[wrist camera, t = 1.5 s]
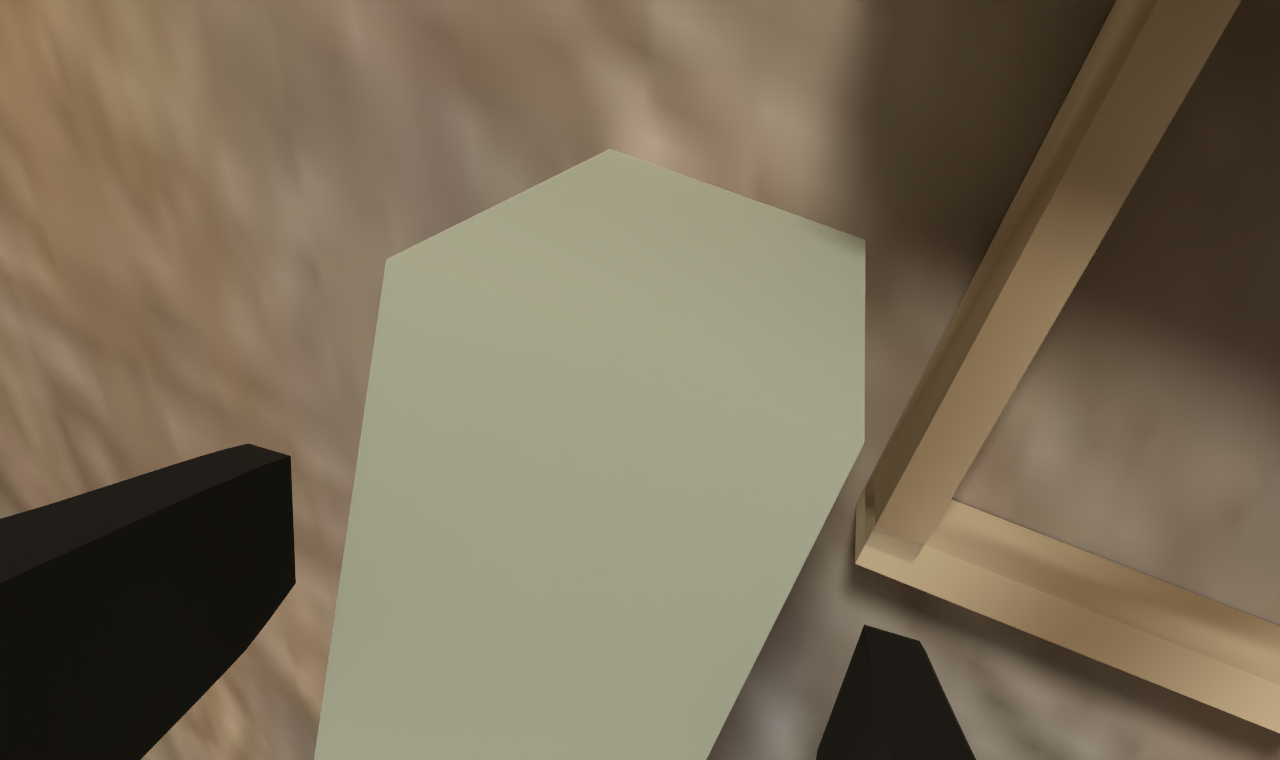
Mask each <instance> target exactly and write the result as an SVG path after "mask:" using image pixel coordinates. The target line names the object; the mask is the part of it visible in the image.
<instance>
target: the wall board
mask: <svg viewBox="0 0 1280 760" xmlns="http://www.w3.org/2000/svg"><path fill="white" fill-rule="evenodd" d="M1241 1H1242V0H1116V2H1115V4H1114V5H1113V7H1112V9H1111V11H1110V13H1109V15H1108V17H1107V19H1106V21H1105V23H1104V25H1103V27H1102V29H1101V31H1100V33H1099V35H1098V37H1097V38H1096V40H1095V42H1094V44H1093V46H1092V48H1091V50H1090V52H1089V54H1088V56H1087V58H1086V60H1085V62H1084V64H1083V66H1082V68H1081V70H1080V71H1079V73H1078V75H1077V77H1076V79H1075V81H1074V83H1073V85H1072V87H1071V89H1070V91H1069V93H1068V95H1067V97H1066V99H1065V101H1064V102H1063V104H1062V106H1061V108H1060V110H1059V112H1058V114H1057V116H1056V118H1055V120H1054V122H1053V124H1052V126H1051V128H1050V130H1049V132H1048V134H1047V135H1046V137H1045V139H1044V141H1043V143H1042V145H1041V147H1040V149H1039V151H1038V153H1037V155H1036V157H1035V159H1034V161H1033V163H1032V165H1031V167H1030V168H1029V170H1028V172H1027V174H1026V176H1025V178H1024V180H1023V182H1022V184H1021V186H1020V188H1019V190H1018V192H1017V194H1016V196H1015V198H1014V200H1013V201H1012V203H1011V205H1010V207H1009V209H1008V211H1007V213H1006V215H1005V217H1004V219H1003V221H1002V223H1001V225H1000V227H999V229H998V231H997V233H996V234H995V236H994V238H993V240H992V242H991V244H990V246H989V248H988V250H987V252H986V254H985V256H984V258H983V260H982V262H981V264H980V266H979V267H978V269H977V271H976V273H975V275H974V277H973V279H972V281H971V283H970V285H969V287H968V289H967V291H966V293H965V295H964V297H963V298H962V300H961V302H960V304H959V306H958V308H957V310H956V312H955V314H954V316H953V318H952V320H951V322H950V324H949V326H948V328H947V330H946V331H945V333H944V335H943V337H942V339H941V341H940V343H939V345H938V347H937V349H936V351H935V353H934V355H933V357H932V359H931V361H930V363H929V364H928V366H927V368H926V370H925V372H924V374H923V376H922V378H921V380H920V382H919V384H918V386H917V388H916V390H915V392H914V394H913V396H912V397H911V399H910V401H909V403H908V405H907V407H906V409H905V411H904V413H903V415H902V417H901V419H900V421H899V423H898V425H897V427H896V429H895V430H894V432H893V434H892V436H891V438H890V440H889V442H888V444H887V446H886V448H885V450H884V452H883V454H882V456H881V458H880V460H879V461H878V463H877V465H876V467H875V469H874V471H873V473H872V475H871V477H870V479H869V481H868V483H867V485H866V487H865V489H864V491H863V493H862V494H861V496H860V498H859V500H858V502H857V504H856V541H855V564H857V565H860V566H862V567H865V568H867V569H870V570H872V571H875V572H877V573H880V574H882V575H885V576H887V577H890V578H892V579H895V580H897V581H900V582H902V583H905V584H907V585H910V586H912V587H915V588H917V589H920V590H922V591H925V592H927V593H930V594H932V595H935V596H937V597H940V598H942V599H945V600H947V601H950V602H952V603H955V604H957V605H960V606H962V607H965V608H967V609H970V610H972V611H975V612H977V613H980V614H982V615H985V616H987V617H990V618H992V619H995V620H997V621H1000V622H1002V623H1005V624H1007V625H1010V626H1012V627H1015V628H1017V629H1020V630H1022V631H1025V632H1027V633H1030V634H1032V635H1035V636H1037V637H1040V638H1042V639H1045V640H1047V641H1050V642H1052V643H1055V644H1057V645H1060V646H1062V647H1065V648H1067V649H1070V650H1072V651H1075V652H1077V653H1080V654H1082V655H1085V656H1087V657H1090V658H1092V659H1095V660H1097V661H1100V662H1102V663H1105V664H1107V665H1110V666H1112V667H1115V668H1117V669H1120V670H1122V671H1125V672H1127V673H1130V674H1132V675H1135V676H1137V677H1140V678H1142V679H1145V680H1147V681H1150V682H1152V683H1155V684H1157V685H1160V686H1162V687H1165V688H1167V689H1170V690H1172V691H1175V692H1177V693H1180V694H1182V695H1185V696H1187V697H1190V698H1192V699H1195V700H1197V701H1200V702H1202V703H1205V704H1207V705H1210V706H1212V707H1215V708H1217V709H1220V710H1222V711H1225V712H1227V713H1230V714H1232V715H1235V716H1237V717H1240V718H1242V719H1245V720H1247V721H1250V722H1252V723H1255V724H1257V725H1260V726H1262V727H1265V728H1267V729H1270V730H1272V731H1275V732H1277V733H1280V626H1278V625H1275V624H1273V623H1270V622H1267V621H1265V620H1262V619H1260V618H1257V617H1255V616H1252V615H1249V614H1247V613H1244V612H1242V611H1239V610H1236V609H1234V608H1231V607H1229V606H1226V605H1223V604H1221V603H1218V602H1216V601H1213V600H1211V599H1208V598H1205V597H1203V596H1200V595H1198V594H1195V593H1192V592H1190V591H1187V590H1185V589H1182V588H1179V587H1177V586H1174V585H1172V584H1169V583H1166V582H1164V581H1161V580H1159V579H1156V578H1154V577H1151V576H1148V575H1146V574H1143V573H1141V572H1138V571H1135V570H1133V569H1130V568H1128V567H1125V566H1122V565H1120V564H1117V563H1115V562H1112V561H1110V560H1107V559H1104V558H1102V557H1099V556H1097V555H1094V554H1091V553H1089V552H1086V551H1084V550H1081V549H1078V548H1076V547H1073V546H1071V545H1068V544H1065V543H1063V542H1060V541H1058V540H1055V539H1053V538H1050V537H1047V536H1045V535H1042V534H1040V533H1037V532H1034V531H1032V530H1029V529H1027V528H1024V527H1021V526H1019V525H1016V524H1014V523H1011V522H1009V521H1006V520H1003V519H1001V518H998V517H996V516H993V515H990V514H988V513H985V512H983V511H980V510H977V509H975V508H972V507H970V506H967V505H965V504H962V503H959V502H957V501H954V500H952V499H951V498H952V497H953V495H954V493H955V491H956V490H957V488H958V486H959V485H960V483H961V481H962V479H963V478H964V476H965V474H966V473H967V471H968V469H969V467H970V466H971V464H972V462H973V461H974V459H975V457H976V455H977V454H978V452H979V450H980V449H981V447H982V445H983V443H984V442H985V440H986V438H987V437H988V435H989V433H990V431H991V430H992V428H993V426H994V425H995V423H996V421H997V419H998V418H999V416H1000V414H1001V413H1002V411H1003V409H1004V407H1005V406H1006V404H1007V402H1008V401H1009V399H1010V397H1011V395H1012V394H1013V392H1014V390H1015V388H1016V387H1017V385H1018V383H1019V382H1020V380H1021V378H1022V376H1023V375H1024V373H1025V371H1026V370H1027V368H1028V366H1029V364H1030V363H1031V361H1032V359H1033V358H1034V356H1035V354H1036V352H1037V351H1038V349H1039V347H1040V346H1041V344H1042V342H1043V340H1044V339H1045V337H1046V335H1047V334H1048V332H1049V330H1050V328H1051V327H1052V325H1053V323H1054V322H1055V320H1056V318H1057V316H1058V315H1059V313H1060V311H1061V310H1062V308H1063V306H1064V304H1065V303H1066V301H1067V299H1068V298H1069V296H1070V294H1071V292H1072V291H1073V289H1074V287H1075V285H1076V284H1077V282H1078V280H1079V279H1080V277H1081V275H1082V273H1083V272H1084V270H1085V268H1086V267H1087V265H1088V263H1089V261H1090V260H1091V258H1092V256H1093V255H1094V253H1095V251H1096V249H1097V248H1098V246H1099V244H1100V243H1101V241H1102V239H1103V237H1104V236H1105V234H1106V232H1107V231H1108V229H1109V227H1110V225H1111V224H1112V222H1113V220H1114V219H1115V217H1116V215H1117V213H1118V212H1119V210H1120V208H1121V207H1122V205H1123V203H1124V201H1125V200H1126V198H1127V196H1128V194H1129V193H1130V191H1131V189H1132V188H1133V186H1134V184H1135V182H1136V181H1137V179H1138V177H1139V176H1140V174H1141V172H1142V170H1143V169H1144V167H1145V165H1146V164H1147V162H1148V160H1149V158H1150V157H1151V155H1152V153H1153V152H1154V150H1155V148H1156V146H1157V145H1158V143H1159V141H1160V140H1161V138H1162V136H1163V134H1164V133H1165V131H1166V129H1167V128H1168V126H1169V124H1170V122H1171V121H1172V119H1173V117H1174V116H1175V114H1176V112H1177V110H1178V109H1179V107H1180V105H1181V104H1182V102H1183V100H1184V98H1185V97H1186V95H1187V93H1188V91H1189V90H1190V88H1191V86H1192V85H1193V83H1194V81H1195V79H1196V78H1197V76H1198V74H1199V73H1200V71H1201V69H1202V67H1203V66H1204V64H1205V62H1206V61H1207V59H1208V57H1209V55H1210V54H1211V52H1212V50H1213V49H1214V47H1215V45H1216V43H1217V42H1218V40H1219V38H1220V37H1221V35H1222V33H1223V31H1224V30H1225V28H1226V26H1227V25H1228V23H1229V21H1230V19H1231V18H1232V16H1233V14H1234V13H1235V11H1236V9H1237V7H1238V6H1239V4H1240V2H1241Z"/></svg>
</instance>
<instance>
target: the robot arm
mask: <svg viewBox="0 0 1280 760" xmlns="http://www.w3.org/2000/svg"><path fill="white" fill-rule="evenodd" d="M295 583H296V580H295V555H294V530H293V505H292V480H291V456H289V455H285V454H282V453H278V452H275V451H272V450H268V449H265V448H261V447H258V446H255V445H251V444H244V445H240V446H236V447H232V448H228V449H224V450H221V451H217V452H214V453H210V454H207V455H204V456H200V457H197V458H194V459H190V460H187V461H184V462H181V463H178V464H174V465H171V466H168V467H165V468H162V469H159V470H156V471H153V472H149V473H146V474H143V475H140V476H137V477H134V478H131V479H128V480H125V481H122V482H118V483H115V484H112V485H109V486H106V487H103V488H100V489H97V490H93V491H90V492H87V493H84V494H81V495H78V496H75V497H72V498H68V499H65V500H62V501H59V502H56V503H53V504H50V505H46V506H43V507H40V508H36V509H33V510H29V511H26V512H23V513H19V514H16V515H12V516H9V517H5V518H2V519H0V760H140V759H141V758H142V757H143V756H144V755H145V754H146V753H147V752H148V751H149V750H150V749H151V748H152V747H153V746H154V745H155V744H156V743H157V742H158V741H159V740H160V739H161V738H162V737H163V736H164V735H165V734H166V733H167V732H168V731H169V730H170V729H171V728H172V727H173V726H174V725H175V723H176V722H177V721H178V720H179V719H180V718H181V717H182V716H183V715H184V714H185V713H186V712H187V711H188V710H189V709H190V708H191V707H192V706H193V705H194V704H195V703H196V702H197V701H198V700H199V699H200V698H201V697H202V696H203V695H204V694H205V692H206V691H207V690H208V689H209V688H210V687H211V686H212V685H213V684H214V683H215V682H216V681H217V680H218V679H219V678H220V677H221V676H222V675H223V674H224V673H225V672H226V671H227V669H228V668H229V667H230V666H231V665H232V664H233V663H234V662H235V661H236V660H237V659H238V658H239V657H240V656H241V654H242V653H243V652H244V651H245V650H246V649H247V648H248V646H249V645H250V644H251V642H252V641H253V640H254V639H255V637H256V636H257V635H258V633H259V632H260V631H261V630H262V628H263V627H264V626H265V624H266V623H267V622H268V621H269V619H270V618H271V616H272V615H273V614H274V612H275V611H276V610H277V608H278V607H279V605H280V604H281V603H282V601H283V600H284V598H285V597H286V596H287V594H288V593H289V592H290V590H291V589H292V587H293V586H294V585H295ZM816 760H976V759H975V757H974V754H973V752H972V750H971V748H970V746H969V744H968V742H967V740H966V738H965V736H964V734H963V732H962V729H961V727H960V725H959V723H958V721H957V719H956V717H955V715H954V713H953V710H952V708H951V706H950V704H949V702H948V700H947V697H946V695H945V693H944V691H943V689H942V686H941V684H940V682H939V680H938V678H937V675H936V673H935V671H934V669H933V666H932V664H931V662H930V660H929V658H928V655H927V653H926V651H925V650H924V648H923V646H922V644H921V643H920V641H917V640H914V639H911V638H907V637H904V636H900V635H897V634H894V633H890V632H887V631H883V630H880V629H877V628H873V627H870V626H866V625H864V627H863V629H862V632H861V635H860V637H859V640H858V643H857V645H856V648H855V651H854V654H853V656H852V659H851V662H850V664H849V667H848V670H847V672H846V675H845V678H844V681H843V683H842V686H841V689H840V691H839V694H838V697H837V699H836V702H835V705H834V707H833V710H832V713H831V716H830V718H829V721H828V724H827V726H826V729H825V732H824V734H823V737H822V740H821V743H820V745H819V748H818V751H817V758H816Z"/></svg>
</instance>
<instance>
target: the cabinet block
mask: <svg viewBox="0 0 1280 760" xmlns="http://www.w3.org/2000/svg"><path fill="white" fill-rule="evenodd" d="M864 438H865V240H864V239H862V238H859V237H856V236H853V235H850V234H848V233H845V232H842V231H839V230H836V229H834V228H831V227H828V226H825V225H822V224H820V223H817V222H814V221H811V220H808V219H805V218H803V217H800V216H797V215H794V214H791V213H789V212H786V211H783V210H780V209H777V208H775V207H772V206H769V205H766V204H763V203H761V202H758V201H755V200H752V199H749V198H746V197H744V196H741V195H738V194H735V193H732V192H730V191H727V190H724V189H721V188H718V187H716V186H713V185H710V184H707V183H704V182H702V181H699V180H696V179H693V178H690V177H687V176H685V175H682V174H679V173H676V172H673V171H671V170H668V169H665V168H662V167H659V166H657V165H654V164H651V163H648V162H645V161H643V160H640V159H637V158H634V157H631V156H628V155H626V154H623V153H620V152H617V151H614V150H612V149H608V150H606V151H604V152H602V153H600V154H598V155H596V156H594V157H592V158H590V159H588V160H586V161H584V162H582V163H580V164H578V165H576V166H574V167H572V168H570V169H568V170H566V171H564V172H562V173H560V174H558V175H556V176H554V177H552V178H550V179H548V180H546V181H544V182H542V183H540V184H538V185H536V186H534V187H532V188H529V189H527V190H525V191H523V192H521V193H519V194H517V195H515V196H513V197H511V198H509V199H507V200H505V201H503V202H501V203H499V204H497V205H495V206H493V207H491V208H489V209H487V210H485V211H483V212H481V213H479V214H477V215H475V216H473V217H471V218H469V219H467V220H465V221H463V222H461V223H459V224H457V225H455V226H453V227H451V228H449V229H447V230H445V231H443V232H441V233H439V234H437V235H435V236H433V237H430V238H428V239H426V240H424V241H422V242H420V243H418V244H416V245H414V246H412V247H410V248H408V249H406V250H404V251H402V252H400V253H398V254H396V255H394V256H392V257H390V258H388V259H386V265H385V272H384V279H383V286H382V293H381V300H380V307H379V314H378V321H377V327H376V334H375V341H374V348H373V355H372V362H371V369H370V376H369V383H368V390H367V397H366V404H365V411H364V417H363V424H362V431H361V438H360V445H359V452H358V459H357V466H356V473H355V480H354V487H353V494H352V501H351V508H350V514H349V521H348V528H347V535H346V542H345V549H344V556H343V563H342V570H341V577H340V584H339V591H338V598H337V604H336V611H335V618H334V625H333V632H332V639H331V646H330V653H329V660H328V667H327V674H326V681H325V688H324V694H323V701H322V708H321V715H320V722H319V729H318V736H317V743H316V750H315V757H314V760H706V759H707V757H708V755H709V753H710V751H711V749H712V747H713V745H714V743H715V741H716V739H717V737H718V735H719V733H720V731H721V729H722V727H723V725H724V723H725V721H726V719H727V717H728V715H729V713H730V711H731V709H732V707H733V705H734V703H735V701H736V699H737V697H738V695H739V693H740V691H741V689H742V687H743V685H744V683H745V681H746V679H747V677H748V675H749V673H750V671H751V669H752V667H753V665H754V663H755V661H756V659H757V657H758V655H759V653H760V651H761V649H762V647H763V645H764V643H765V641H766V639H767V637H768V635H769V633H770V631H771V629H772V627H773V625H774V623H775V621H776V619H777V617H778V615H779V613H780V611H781V609H782V607H783V605H784V603H785V601H786V599H787V597H788V595H789V593H790V591H791V589H792V587H793V585H794V583H795V581H796V579H797V577H798V575H799V573H800V571H801V569H802V567H803V565H804V563H805V561H806V559H807V557H808V555H809V553H810V551H811V549H812V547H813V545H814V543H815V541H816V539H817V537H818V535H819V533H820V531H821V529H822V527H823V525H824V523H825V521H826V519H827V517H828V515H829V513H830V511H831V509H832V507H833V505H834V503H835V501H836V499H837V496H838V494H839V492H840V490H841V488H842V486H843V484H844V482H845V480H846V478H847V476H848V474H849V472H850V470H851V468H852V466H853V464H854V462H855V460H856V458H857V456H858V454H859V452H860V450H861V448H862V446H863V444H864Z"/></svg>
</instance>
